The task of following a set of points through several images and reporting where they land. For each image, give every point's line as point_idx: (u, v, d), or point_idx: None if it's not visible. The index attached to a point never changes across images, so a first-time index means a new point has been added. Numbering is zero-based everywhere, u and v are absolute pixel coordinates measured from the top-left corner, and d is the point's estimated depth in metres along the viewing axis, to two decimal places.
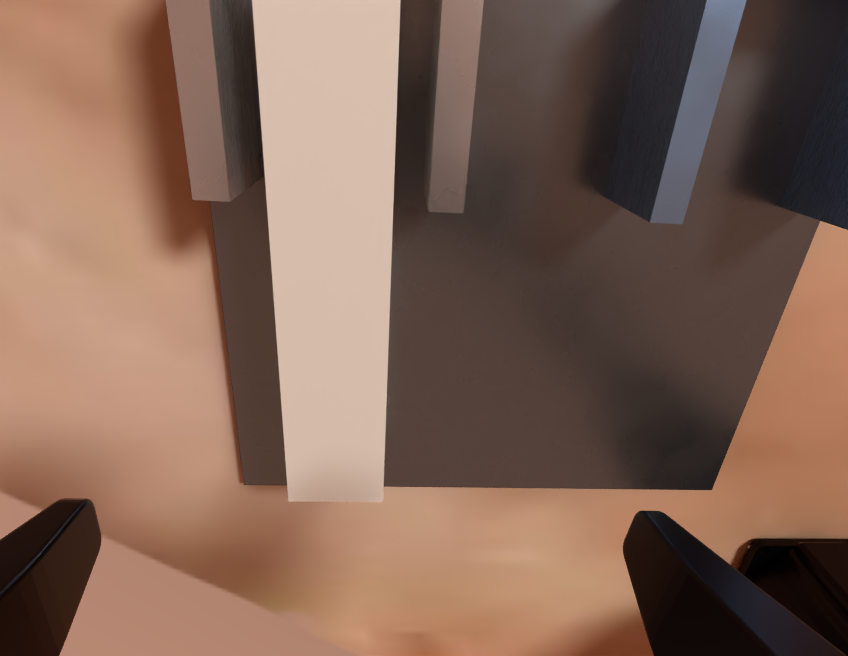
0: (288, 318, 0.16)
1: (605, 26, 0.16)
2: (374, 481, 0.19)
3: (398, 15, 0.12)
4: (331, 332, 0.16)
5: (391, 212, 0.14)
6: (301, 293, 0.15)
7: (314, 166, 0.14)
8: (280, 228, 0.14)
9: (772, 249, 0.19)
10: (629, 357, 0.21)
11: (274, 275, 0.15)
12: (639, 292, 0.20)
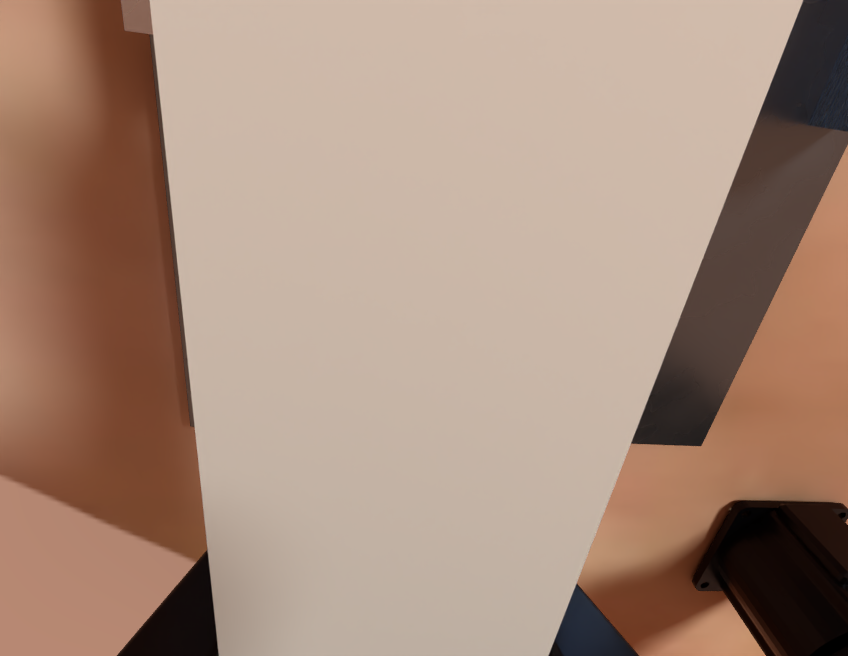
0: (253, 538, 0.04)
1: None
2: None
3: None
4: (398, 572, 0.05)
5: (729, 174, 0.03)
6: (307, 467, 0.04)
7: None
8: (229, 221, 0.03)
9: (794, 175, 0.17)
10: None
11: (202, 407, 0.04)
12: None
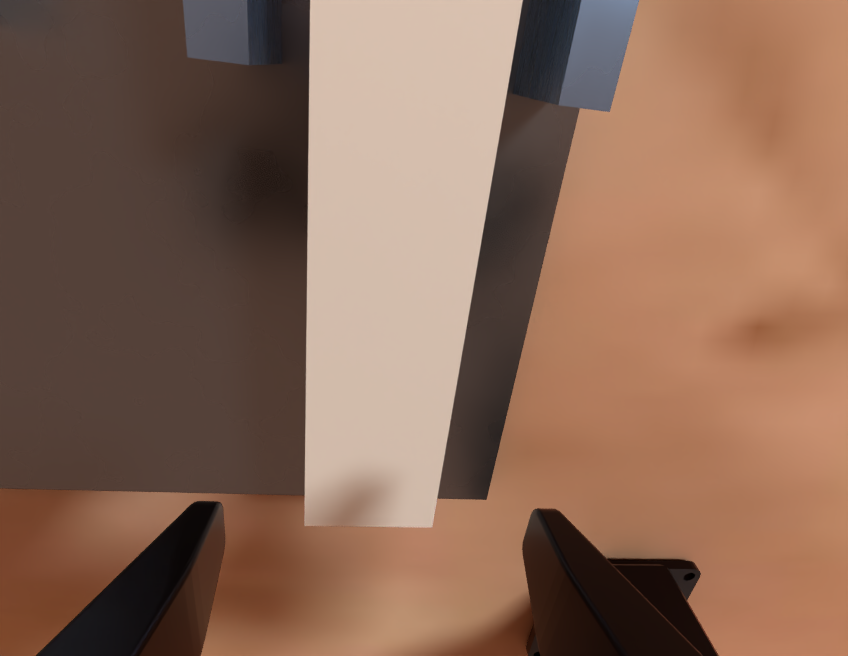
0: (326, 266, 0.10)
1: None
2: (424, 500, 0.14)
3: None
4: (388, 290, 0.11)
5: (502, 103, 0.09)
6: (350, 228, 0.10)
7: (392, 14, 0.09)
8: (327, 119, 0.09)
9: (513, 162, 0.13)
10: None
11: (311, 197, 0.10)
12: None
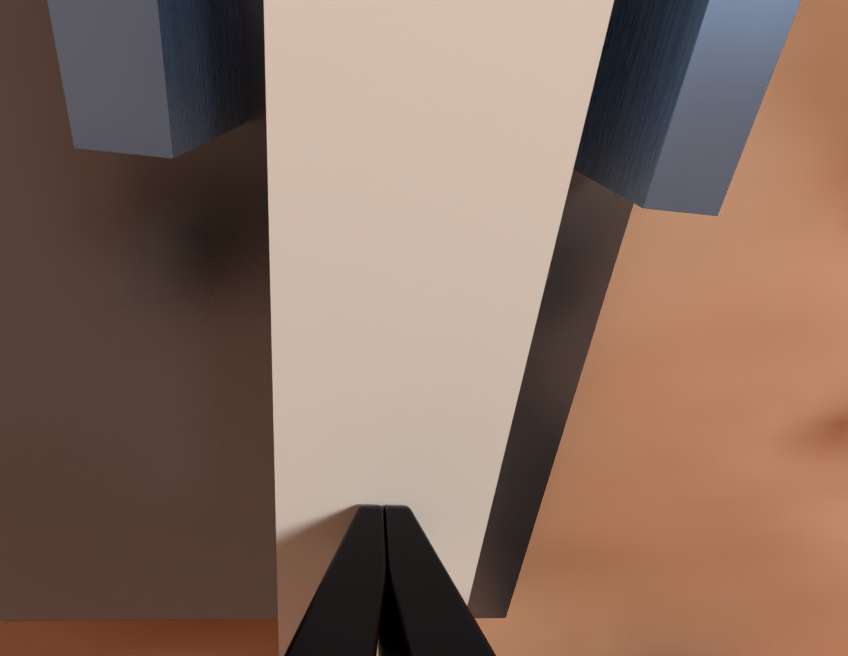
0: (301, 421, 0.07)
1: None
2: None
3: None
4: (389, 448, 0.08)
5: (560, 206, 0.06)
6: (334, 374, 0.07)
7: (395, 81, 0.05)
8: (297, 232, 0.06)
9: None
10: None
11: (277, 336, 0.07)
12: None
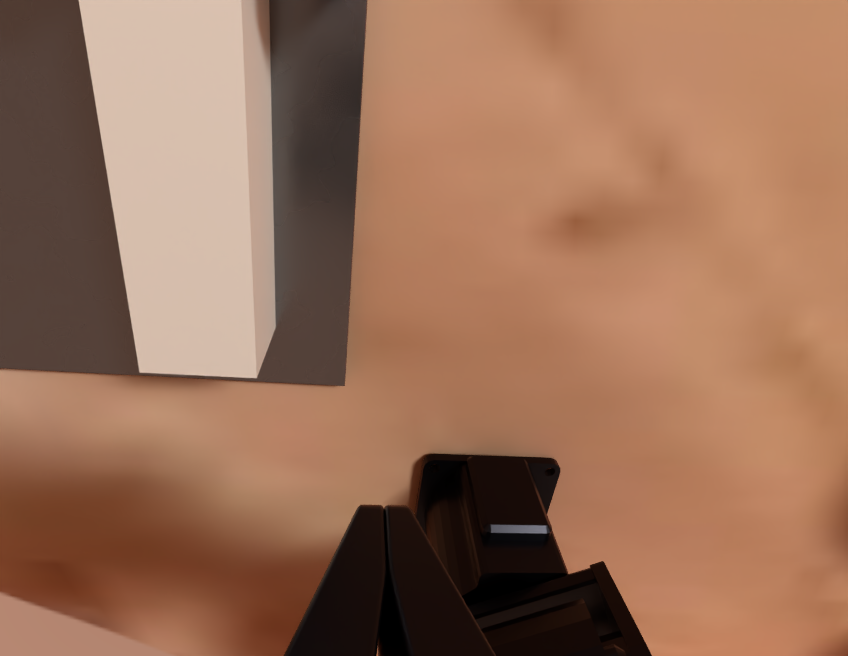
0: (114, 112, 0.12)
1: None
2: (244, 350, 0.16)
3: None
4: (172, 137, 0.13)
5: None
6: (128, 76, 0.12)
7: None
8: None
9: (316, 49, 0.15)
10: None
11: (89, 45, 0.12)
12: None
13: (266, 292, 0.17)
